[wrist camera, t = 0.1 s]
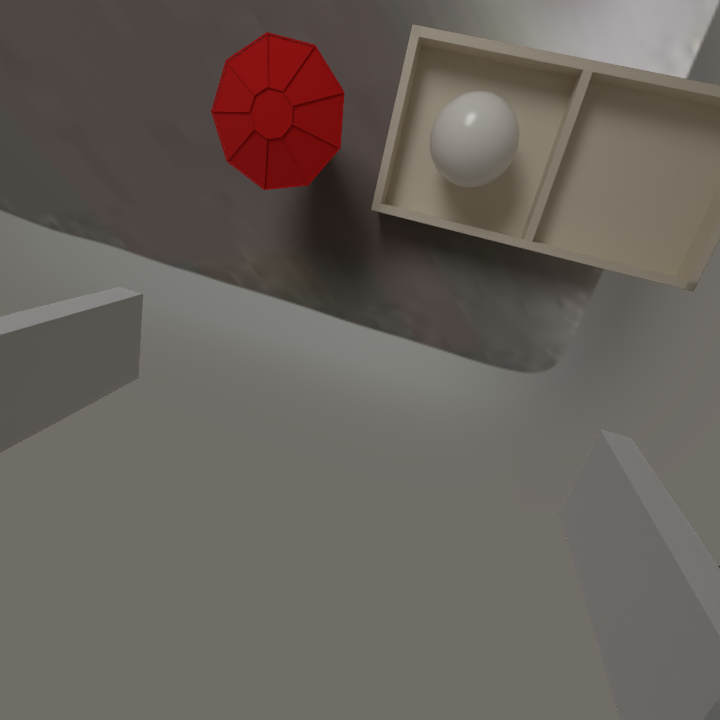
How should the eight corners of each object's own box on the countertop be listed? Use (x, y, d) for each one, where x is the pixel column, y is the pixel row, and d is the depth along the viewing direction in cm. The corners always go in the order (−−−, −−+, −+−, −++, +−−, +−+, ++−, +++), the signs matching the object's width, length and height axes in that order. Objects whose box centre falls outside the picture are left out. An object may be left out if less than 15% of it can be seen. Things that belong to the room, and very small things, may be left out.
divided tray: (417, 38, 34) (412, 24, 31) (761, 108, 31) (789, 99, 28) (378, 209, 38) (371, 209, 36) (675, 284, 35) (693, 291, 33)
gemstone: (369, 62, 35) (333, 12, 26) (377, 185, 38) (347, 180, 29) (260, 79, 37) (191, 39, 28) (275, 195, 40) (217, 193, 31)
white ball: (445, 92, 34) (441, 71, 28) (527, 110, 33) (539, 92, 28) (423, 178, 36) (415, 174, 31) (499, 196, 35) (505, 196, 30)
